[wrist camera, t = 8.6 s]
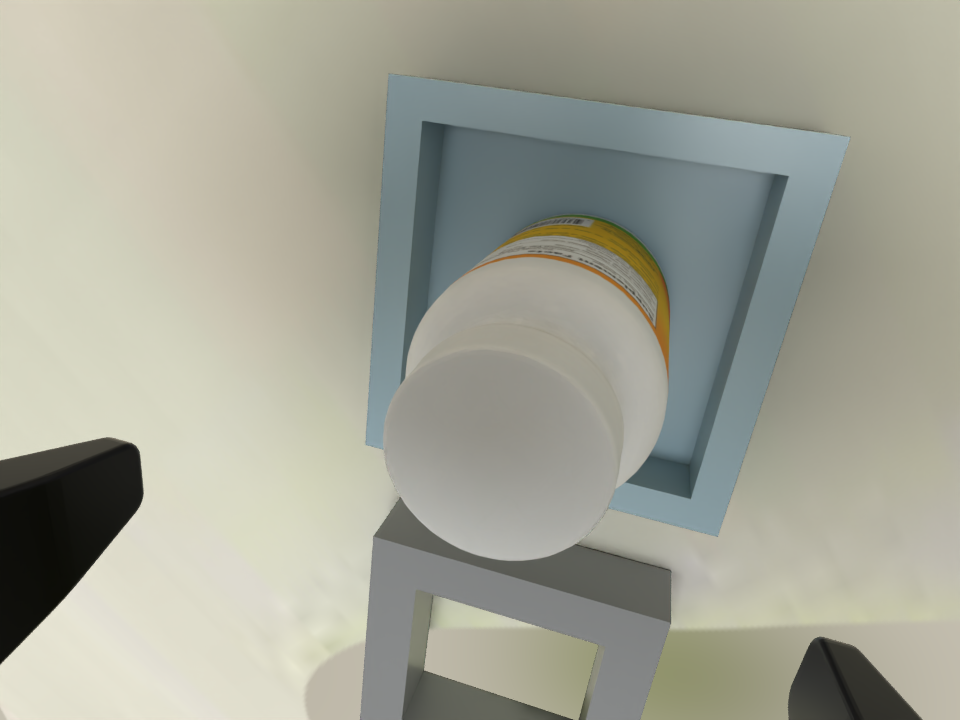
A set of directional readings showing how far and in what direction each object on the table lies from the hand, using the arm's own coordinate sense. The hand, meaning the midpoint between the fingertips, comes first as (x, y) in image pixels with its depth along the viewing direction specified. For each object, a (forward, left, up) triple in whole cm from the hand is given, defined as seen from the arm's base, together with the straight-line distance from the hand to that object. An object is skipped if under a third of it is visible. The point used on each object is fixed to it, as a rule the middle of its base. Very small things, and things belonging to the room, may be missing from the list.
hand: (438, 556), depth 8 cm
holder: (0, +14, -13) cm, 19 cm away
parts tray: (0, 0, -13) cm, 13 cm away
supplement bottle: (0, 0, -12) cm, 12 cm away
